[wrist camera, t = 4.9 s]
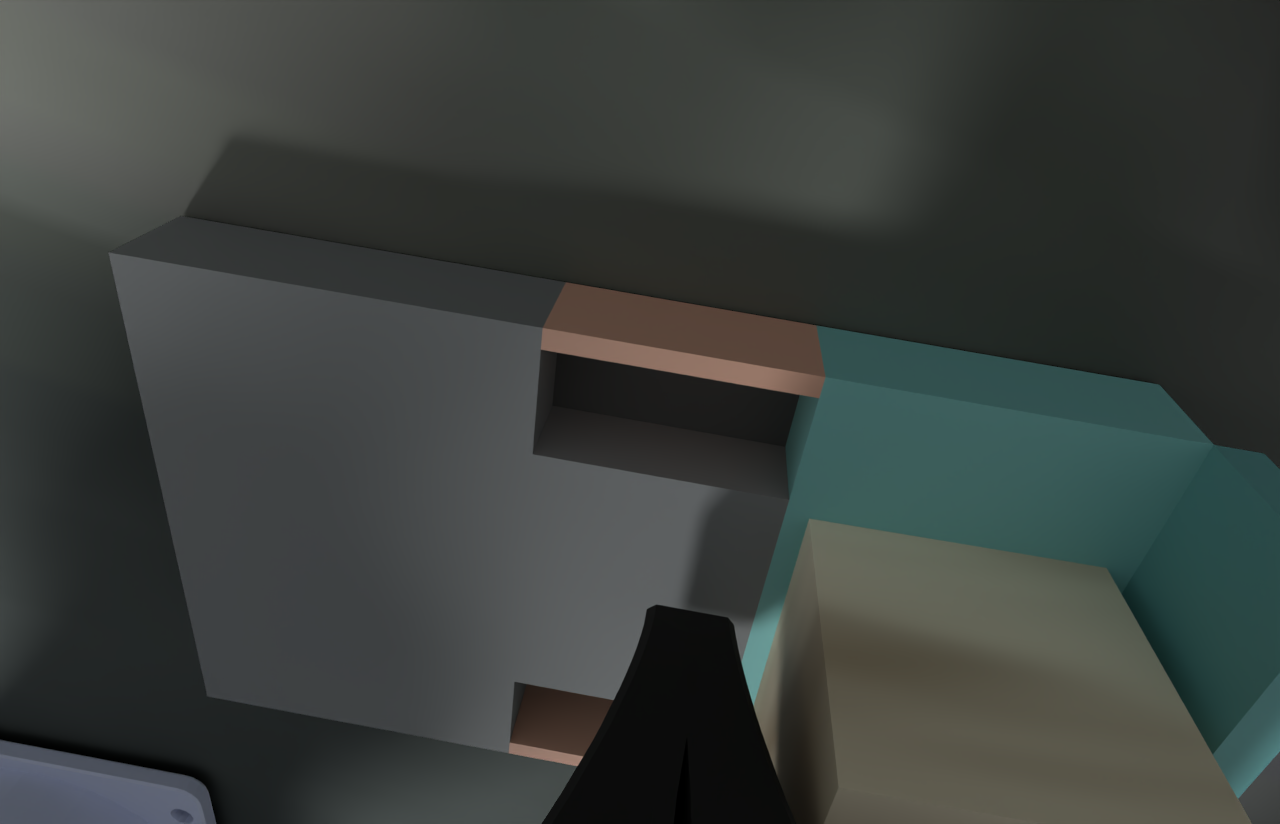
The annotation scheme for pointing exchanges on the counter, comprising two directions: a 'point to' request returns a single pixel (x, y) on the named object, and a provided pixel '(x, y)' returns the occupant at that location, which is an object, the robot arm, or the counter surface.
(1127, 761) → the maple block
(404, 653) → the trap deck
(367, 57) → the counter surface
